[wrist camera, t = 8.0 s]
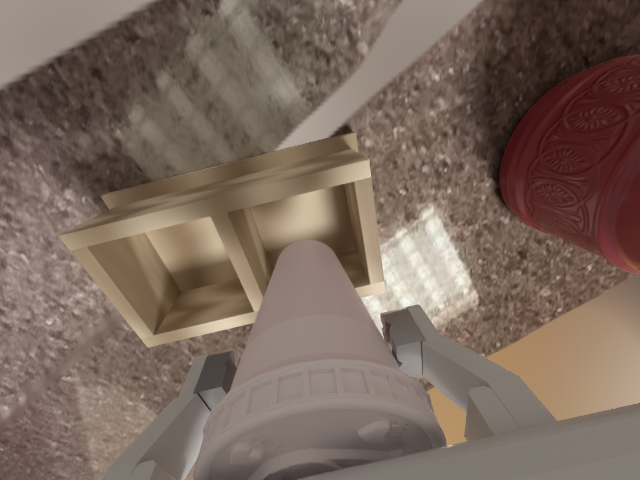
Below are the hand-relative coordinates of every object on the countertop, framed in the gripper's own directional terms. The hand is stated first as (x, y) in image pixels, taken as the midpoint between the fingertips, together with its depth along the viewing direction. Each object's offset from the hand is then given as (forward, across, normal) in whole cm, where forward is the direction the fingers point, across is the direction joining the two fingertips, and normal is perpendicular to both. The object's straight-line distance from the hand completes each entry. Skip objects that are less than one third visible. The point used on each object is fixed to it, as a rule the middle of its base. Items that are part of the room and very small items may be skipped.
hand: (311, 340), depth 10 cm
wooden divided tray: (+13, +4, 0) cm, 14 cm away
